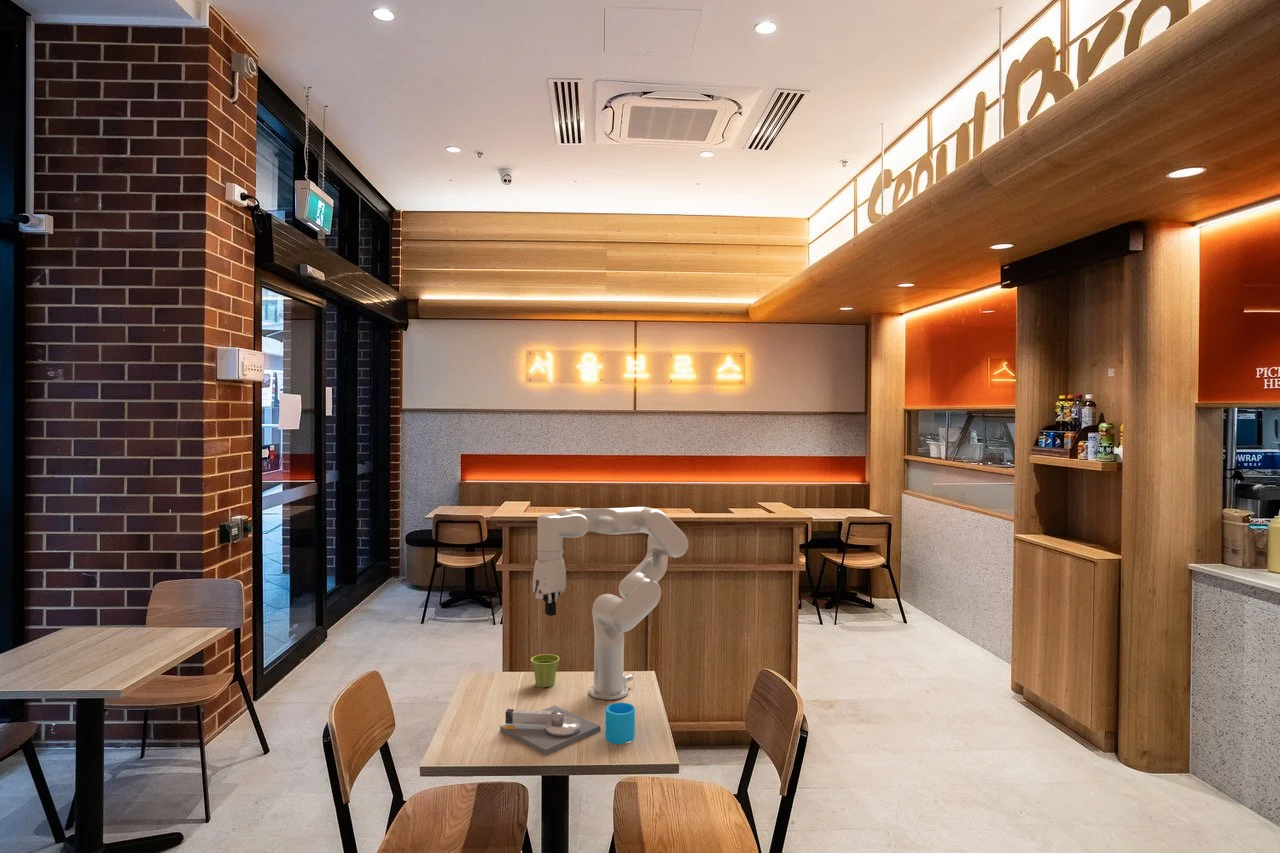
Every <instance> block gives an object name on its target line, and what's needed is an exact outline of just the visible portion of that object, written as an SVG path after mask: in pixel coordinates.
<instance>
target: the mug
mask: <svg viewBox="0 0 1280 853" xmlns="http://www.w3.org/2000/svg"><path fill="white" fill-rule="evenodd" d="M604 733H605V740H606V741H607V742H608V743H610V744H613V743H614V745H625V744H624V743H626V742H629V741H632V740H633V739H634V740H635V738H636V737H635V736H636V735H635V734H636V707H635V706H634V705H633V704H630V703H628V702H613V703H610V704H609V705H608V704H607V705H606V707H605V732H604ZM634 737H635V738H634ZM634 740H633V741H634ZM633 741H632V742H633Z"/></svg>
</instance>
